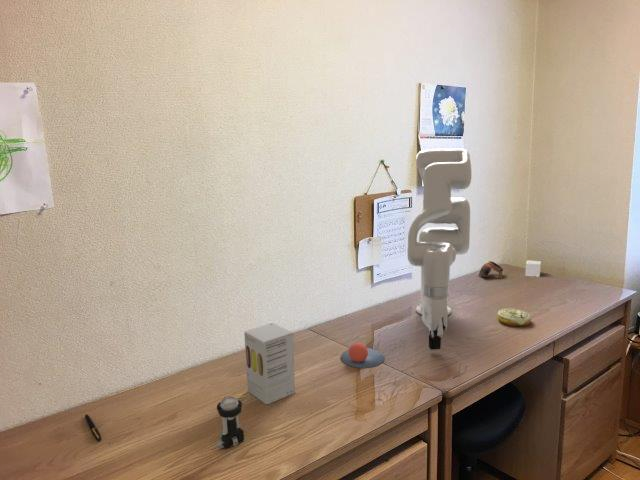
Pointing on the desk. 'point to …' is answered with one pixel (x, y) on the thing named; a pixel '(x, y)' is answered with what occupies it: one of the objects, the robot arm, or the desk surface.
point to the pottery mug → (487, 268)
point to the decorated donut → (514, 317)
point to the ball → (358, 352)
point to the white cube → (533, 268)
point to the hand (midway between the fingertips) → (434, 348)
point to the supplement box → (270, 362)
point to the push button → (230, 422)
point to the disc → (372, 359)
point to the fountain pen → (93, 428)
